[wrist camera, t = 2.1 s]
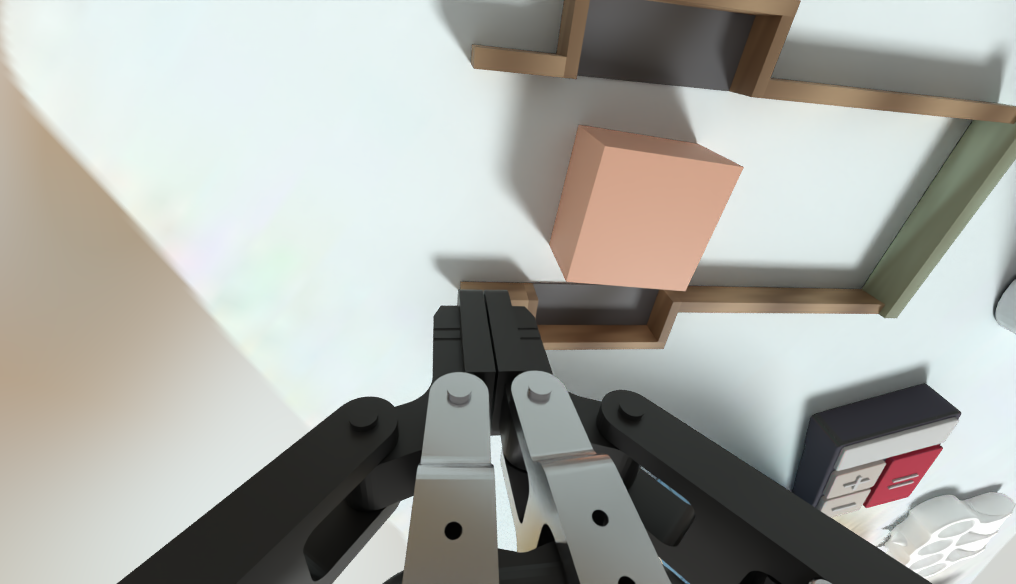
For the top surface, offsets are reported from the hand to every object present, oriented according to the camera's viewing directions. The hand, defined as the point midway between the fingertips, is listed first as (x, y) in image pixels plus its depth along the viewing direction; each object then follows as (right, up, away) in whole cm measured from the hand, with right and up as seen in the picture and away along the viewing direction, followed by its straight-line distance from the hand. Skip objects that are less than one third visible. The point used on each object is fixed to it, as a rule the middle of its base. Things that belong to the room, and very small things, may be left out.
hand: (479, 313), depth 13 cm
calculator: (+36, -15, +31) cm, 50 cm away
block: (+7, +6, +12) cm, 15 cm away
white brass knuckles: (+59, -31, +45) cm, 80 cm away
